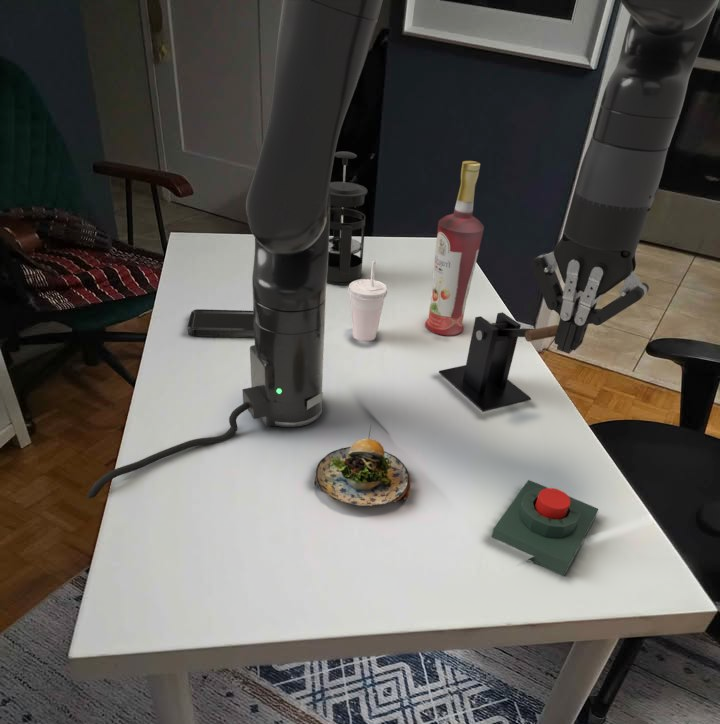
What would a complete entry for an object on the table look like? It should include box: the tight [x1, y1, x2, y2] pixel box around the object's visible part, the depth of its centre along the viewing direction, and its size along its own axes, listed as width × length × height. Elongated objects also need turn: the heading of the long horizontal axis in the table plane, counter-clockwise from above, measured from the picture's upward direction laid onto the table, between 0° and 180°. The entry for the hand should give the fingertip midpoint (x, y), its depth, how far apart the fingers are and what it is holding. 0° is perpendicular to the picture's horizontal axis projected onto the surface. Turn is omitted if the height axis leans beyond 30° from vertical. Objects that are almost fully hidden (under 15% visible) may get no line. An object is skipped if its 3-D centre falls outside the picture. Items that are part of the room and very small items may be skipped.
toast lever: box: [491, 322, 559, 343], centre depth 90 cm, size 12×5×2 cm, turn 27°
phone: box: [187, 308, 254, 338], centre depth 111 cm, size 8×1×15 cm
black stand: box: [438, 312, 532, 413], centre depth 97 cm, size 12×9×12 cm
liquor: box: [424, 160, 485, 337], centre depth 107 cm, size 7×7×28 cm
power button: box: [535, 487, 570, 520], centre depth 74 cm, size 4×4×2 cm
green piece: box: [491, 479, 599, 577], centre depth 76 cm, size 11×9×4 cm
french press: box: [326, 151, 368, 286], centre depth 124 cm, size 12×9×23 cm
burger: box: [313, 424, 412, 507], centre depth 79 cm, size 12×12×8 cm
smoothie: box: [347, 259, 388, 342], centre depth 106 cm, size 6×6×14 cm
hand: (565, 349), depth 75 cm, fingers closed
